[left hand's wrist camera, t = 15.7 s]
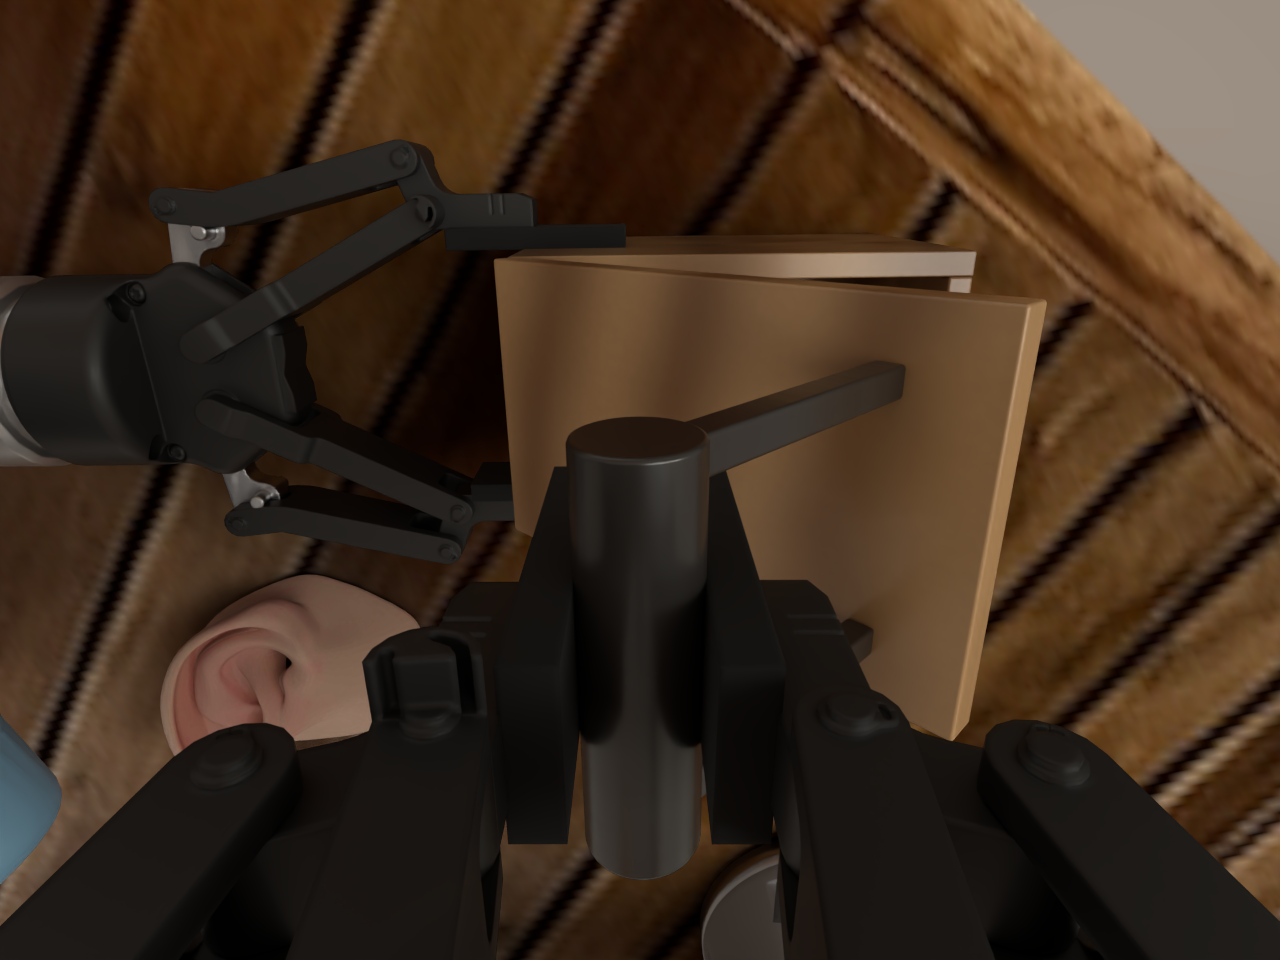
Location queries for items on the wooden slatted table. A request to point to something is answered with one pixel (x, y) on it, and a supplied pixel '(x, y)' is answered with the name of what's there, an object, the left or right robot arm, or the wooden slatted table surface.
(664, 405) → the lid
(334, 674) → the anatomical model
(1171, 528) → the wooden slatted table surface
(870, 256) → the chest
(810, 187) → the wooden slatted table surface
